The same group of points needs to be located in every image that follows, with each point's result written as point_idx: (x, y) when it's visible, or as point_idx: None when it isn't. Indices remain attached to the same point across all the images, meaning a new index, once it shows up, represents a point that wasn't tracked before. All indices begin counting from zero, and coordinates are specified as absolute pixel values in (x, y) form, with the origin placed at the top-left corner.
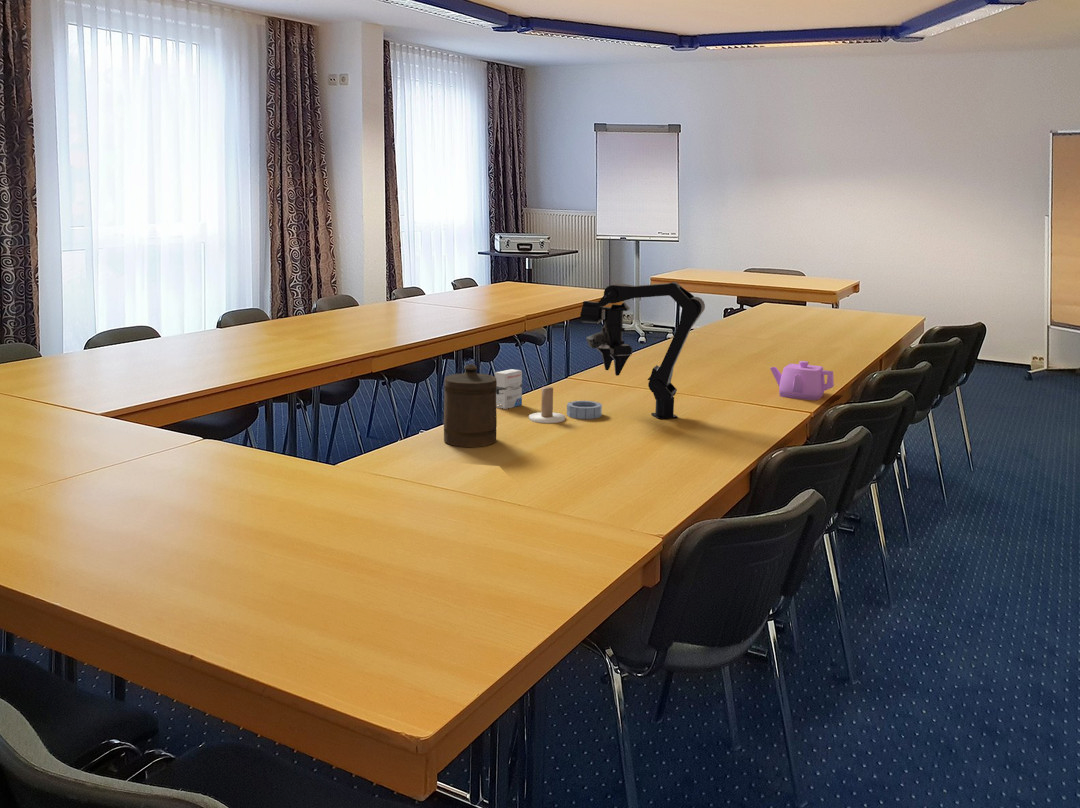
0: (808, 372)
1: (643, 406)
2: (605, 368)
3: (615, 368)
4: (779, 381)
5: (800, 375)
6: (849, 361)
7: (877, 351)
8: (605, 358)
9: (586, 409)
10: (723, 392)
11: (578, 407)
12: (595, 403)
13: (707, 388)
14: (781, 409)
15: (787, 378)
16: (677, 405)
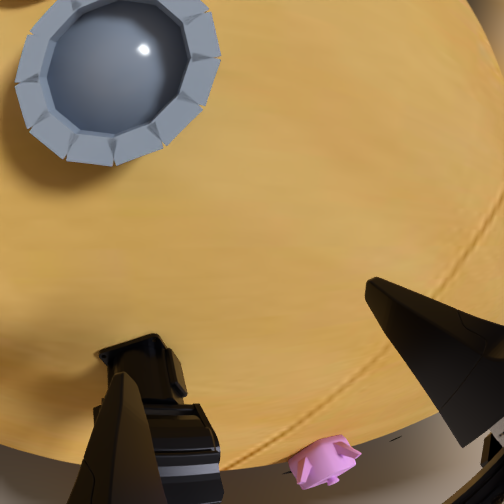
0: (308, 484)
1: (284, 304)
2: (376, 286)
3: (94, 432)
4: (338, 448)
5: (312, 476)
6: (418, 417)
7: (430, 415)
8: (443, 346)
9: (18, 87)
10: (364, 395)
11: (32, 40)
12: (137, 127)
13: (396, 372)
14: (238, 458)
15: (321, 465)
16: (284, 369)
